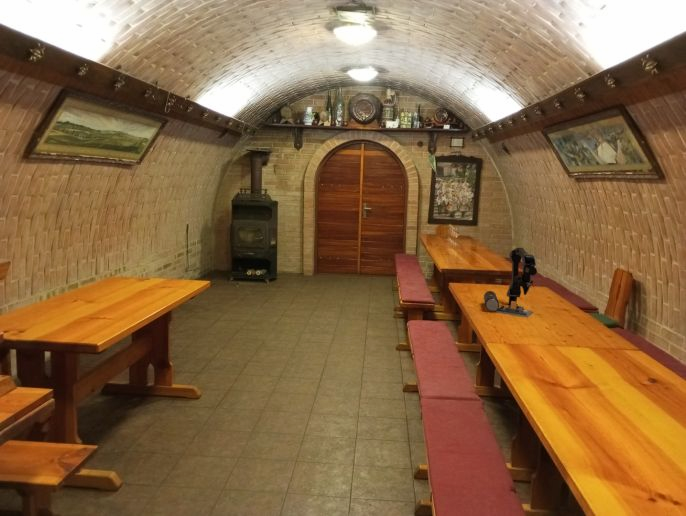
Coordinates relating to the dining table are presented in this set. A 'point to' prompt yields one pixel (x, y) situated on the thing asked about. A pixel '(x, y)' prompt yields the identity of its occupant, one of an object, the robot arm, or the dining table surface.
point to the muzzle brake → (491, 301)
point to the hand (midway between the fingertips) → (525, 294)
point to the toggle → (513, 305)
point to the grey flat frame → (510, 311)
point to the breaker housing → (518, 309)
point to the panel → (515, 313)
